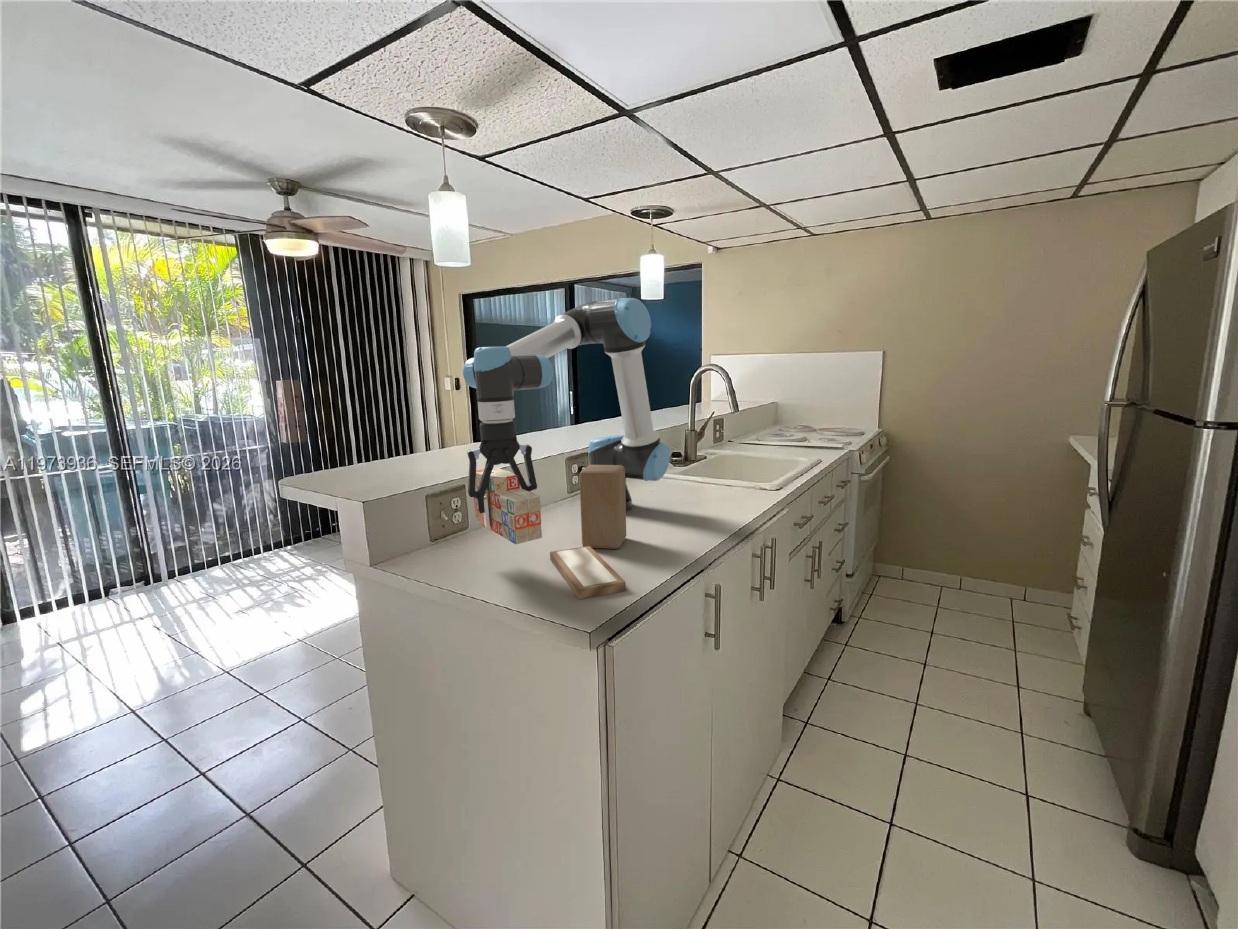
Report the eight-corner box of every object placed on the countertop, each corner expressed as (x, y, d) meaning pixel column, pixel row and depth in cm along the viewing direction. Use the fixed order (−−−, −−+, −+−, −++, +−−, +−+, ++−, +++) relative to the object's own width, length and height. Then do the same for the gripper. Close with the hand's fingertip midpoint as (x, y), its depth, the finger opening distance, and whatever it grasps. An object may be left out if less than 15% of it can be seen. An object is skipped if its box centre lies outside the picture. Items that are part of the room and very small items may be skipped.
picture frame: (589, 553, 133) (589, 545, 132) (625, 590, 110) (625, 581, 110) (550, 559, 129) (549, 551, 129) (578, 599, 107) (578, 589, 107)
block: (619, 550, 134) (617, 472, 131) (581, 548, 136) (578, 471, 133) (627, 537, 144) (625, 464, 140) (591, 536, 146) (588, 464, 142)
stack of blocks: (543, 538, 112) (539, 481, 110) (515, 545, 108) (511, 486, 106) (500, 516, 129) (495, 466, 126) (475, 521, 125) (470, 470, 123)
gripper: (449, 426, 107) (459, 535, 112) (548, 419, 114) (554, 522, 119) (446, 422, 114) (457, 525, 119) (540, 415, 121) (546, 513, 126)
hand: (505, 523), depth 119 cm, fingers closed on stack of blocks, 7 cm apart
